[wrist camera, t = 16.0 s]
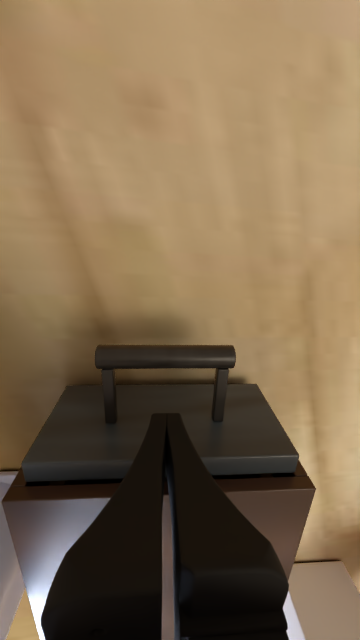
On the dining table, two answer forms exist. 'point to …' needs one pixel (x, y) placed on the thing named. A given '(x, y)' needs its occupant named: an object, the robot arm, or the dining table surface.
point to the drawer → (143, 400)
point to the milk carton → (322, 603)
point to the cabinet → (89, 499)
